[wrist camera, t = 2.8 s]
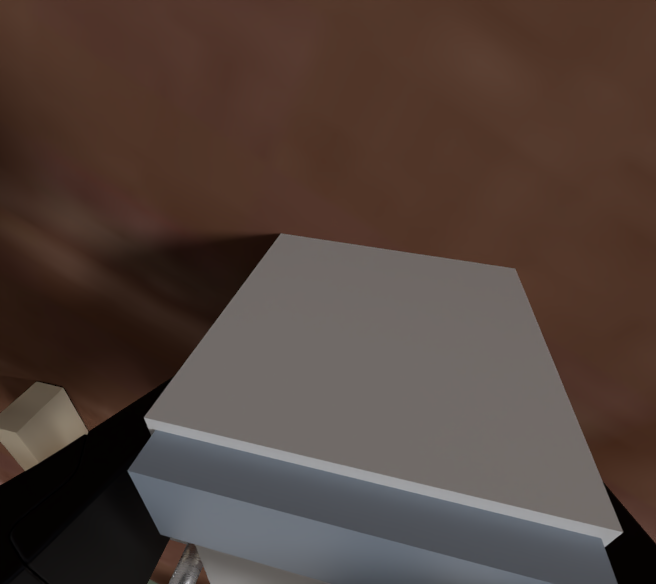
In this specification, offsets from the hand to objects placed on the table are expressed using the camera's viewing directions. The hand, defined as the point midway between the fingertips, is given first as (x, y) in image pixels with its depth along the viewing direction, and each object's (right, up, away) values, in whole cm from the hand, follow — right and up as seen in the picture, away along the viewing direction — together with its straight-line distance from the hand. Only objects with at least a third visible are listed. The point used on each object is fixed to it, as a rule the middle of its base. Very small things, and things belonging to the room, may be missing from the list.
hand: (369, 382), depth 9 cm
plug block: (0, +1, +1) cm, 1 cm away
